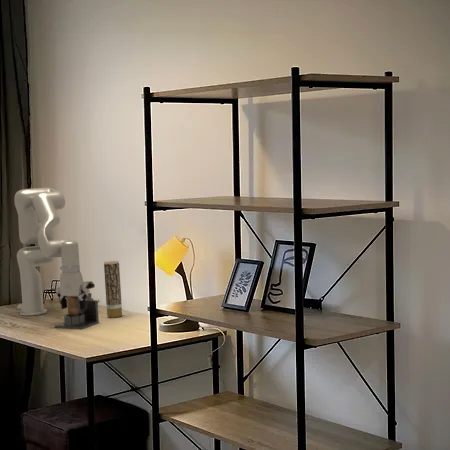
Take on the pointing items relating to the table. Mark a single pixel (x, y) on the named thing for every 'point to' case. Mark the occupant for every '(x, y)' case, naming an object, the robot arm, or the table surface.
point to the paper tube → (113, 289)
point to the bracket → (82, 317)
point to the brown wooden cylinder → (72, 306)
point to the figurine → (88, 285)
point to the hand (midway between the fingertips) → (73, 308)
